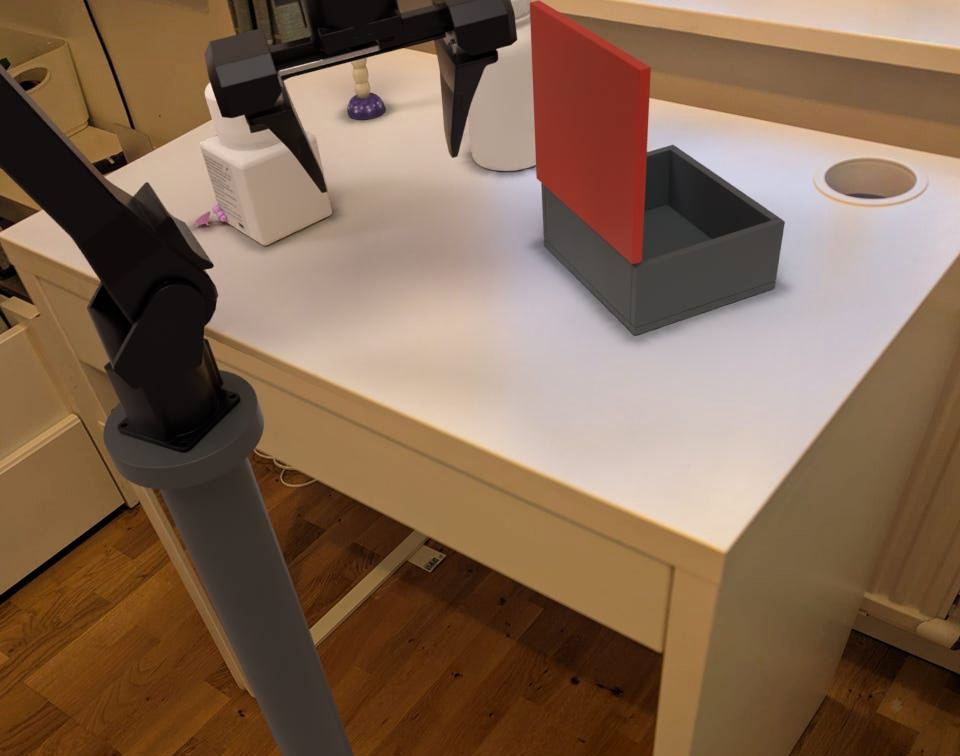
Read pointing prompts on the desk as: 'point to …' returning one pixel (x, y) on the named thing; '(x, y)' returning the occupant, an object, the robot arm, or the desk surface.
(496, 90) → the pill bottle
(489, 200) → the desk surface
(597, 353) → the desk surface
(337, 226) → the desk surface
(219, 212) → the pink bumpy piece
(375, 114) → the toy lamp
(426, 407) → the desk surface
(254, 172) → the container
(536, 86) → the lid
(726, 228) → the box
